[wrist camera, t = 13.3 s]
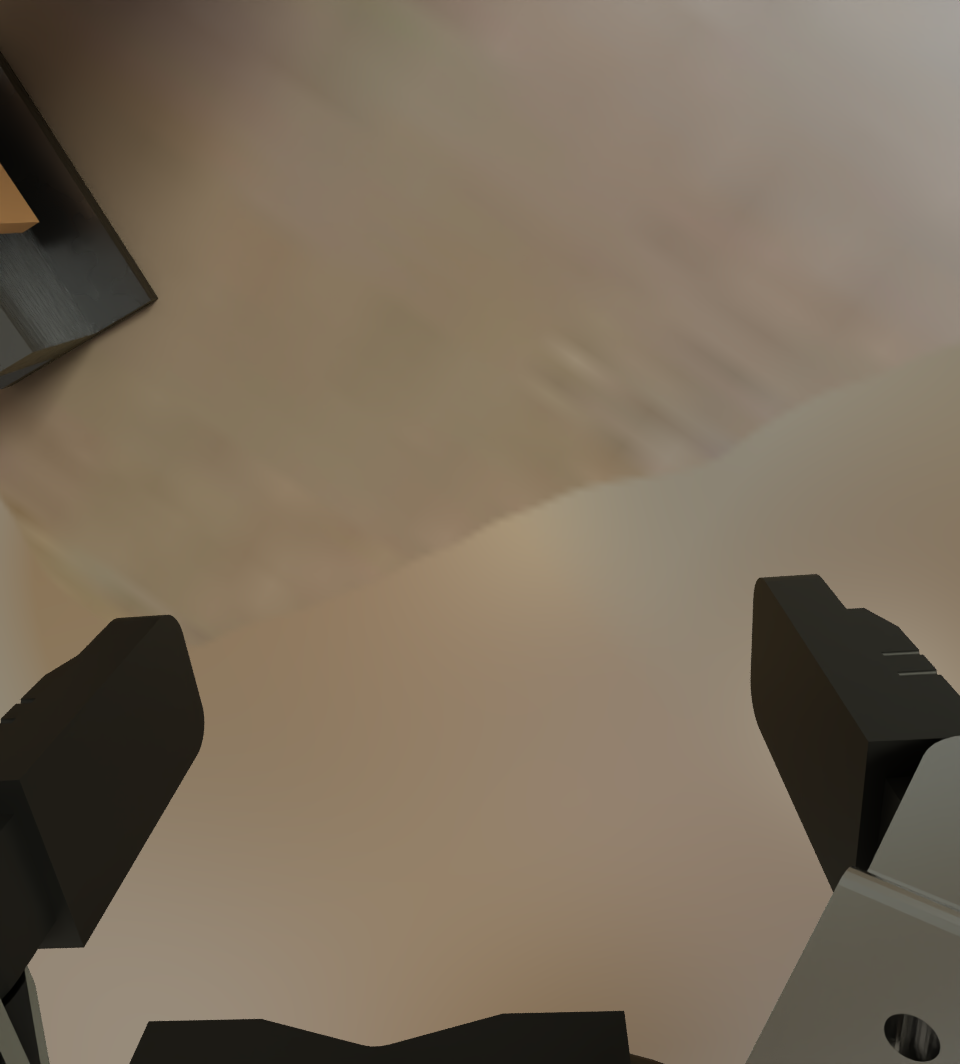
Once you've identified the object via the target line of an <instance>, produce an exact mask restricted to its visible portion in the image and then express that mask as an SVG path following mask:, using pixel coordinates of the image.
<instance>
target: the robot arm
mask: <svg viewBox="0 0 960 1064" xmlns="http://www.w3.org/2000/svg"><path fill="white" fill-rule="evenodd" d="M752 625H753V626H752V653H751V654H752V655H751V696H752V703H753V709H754V714H755V717H756V721H757V724H758V726H759V729H760V731H761V733H762V736H763V738H764V740H765V742H766V744H767V747H768V749H769V751H770V753H771V755H772V757H773V760H774V762H775V764H776V767H777V769H778V771H779V773H780V775H781V778H782V780H783V782H784V784H785V787H786V789H787V791H788V793H789V795H790V798H791V800H792V802H793V804H794V806H795V809H796V811H797V813H798V815H799V818H800V820H801V822H802V824H803V826H804V829H805V831H806V833H807V835H808V837H809V840H810V842H811V844H812V846H813V848H814V850H815V853H816V855H817V857H818V860H819V862H820V864H821V866H822V868H823V871H824V873H825V875H826V877H827V879H828V882H829V884H830V886H831V888H832V890H833V895H832V897H831V898H830V900H829V903H828V905H827V906H826V908H825V910H824V912H823V914H822V916H821V918H820V920H819V922H818V924H817V926H816V928H815V929H814V932H813V933H812V935H811V937H810V939H809V941H808V943H807V945H806V947H805V949H804V951H803V953H802V955H801V957H800V959H799V961H798V963H797V965H796V967H795V968H794V970H793V972H792V974H791V976H790V978H789V980H788V982H787V984H786V986H785V988H784V990H783V992H782V994H781V996H780V997H779V999H778V1001H777V1003H776V1005H775V1007H774V1009H773V1011H772V1013H771V1015H770V1017H769V1019H768V1021H767V1023H766V1025H765V1027H764V1029H763V1030H762V1033H761V1034H760V1036H759V1038H758V1040H757V1042H756V1044H755V1046H754V1048H753V1050H752V1052H751V1054H750V1056H749V1058H748V1060H747V1061H746V1064H960V696H959V695H958V693H957V692H956V691H955V690H954V689H953V688H952V687H951V685H950V684H949V683H948V682H947V681H946V680H945V679H944V678H943V676H941V675H937V672H936V669H935V667H933V665H932V664H931V663H930V662H929V661H928V660H927V658H926V657H925V656H924V655H920V654H919V649H918V648H917V647H916V646H915V645H914V644H913V643H912V642H911V641H910V639H909V638H908V637H907V636H906V635H905V634H904V633H903V632H902V631H901V629H900V628H899V627H898V626H896V625H894V624H892V623H891V622H889V621H887V620H885V619H883V618H881V617H880V616H878V615H876V614H874V613H872V612H870V611H869V610H867V609H865V608H857V609H856V608H855V609H846V608H845V607H844V605H843V604H842V603H841V602H840V600H839V599H838V598H837V597H836V595H835V594H834V593H833V592H832V590H831V589H830V588H829V587H828V585H827V584H826V583H825V582H824V580H823V579H822V578H821V577H820V576H819V575H817V574H811V575H796V576H780V577H765V578H759V579H758V580H757V581H756V584H755V589H754V598H753V624H752ZM203 734H204V713H203V707H202V703H201V699H200V696H199V692H198V688H197V685H196V681H195V677H194V673H193V670H192V666H191V662H190V658H189V655H188V651H187V647H186V643H185V640H184V636H183V632H182V629H181V627H180V625H179V623H178V621H177V620H176V619H175V618H174V617H173V616H171V615H158V616H142V617H127V618H116V619H114V620H113V621H111V622H110V623H109V624H108V625H107V626H106V627H105V628H104V629H103V630H102V631H101V632H100V633H99V634H98V635H97V636H96V638H95V639H94V640H93V641H92V642H91V643H90V644H89V645H88V646H87V647H86V648H85V649H84V650H83V651H82V652H81V653H80V654H79V655H77V656H76V657H74V658H73V659H71V660H69V661H68V662H66V663H64V664H63V665H61V666H60V667H58V668H56V669H55V670H53V671H52V672H50V673H48V674H46V675H45V676H44V677H43V678H42V679H41V680H40V681H39V682H38V683H37V684H36V685H35V686H34V687H32V689H31V690H29V691H28V692H27V694H25V695H24V696H23V698H21V704H15V705H14V706H13V707H12V708H11V709H10V710H9V711H8V712H7V713H6V714H5V715H4V716H3V717H2V718H1V724H0V1064H50V1063H49V1057H48V1052H47V1047H46V1041H45V1036H44V1031H43V1025H42V1019H41V1013H40V1008H39V1002H38V997H37V991H36V986H35V983H34V980H33V978H32V976H31V973H30V971H29V969H28V966H27V965H28V963H29V962H30V960H31V959H32V957H33V956H34V954H35V953H36V951H37V949H45V948H76V947H77V948H79V947H84V946H85V945H86V943H87V941H88V940H89V938H90V936H91V934H92V933H93V931H94V929H95V928H96V926H97V924H98V923H99V921H100V919H101V918H102V916H103V914H104V912H105V910H106V909H107V907H108V905H109V904H110V902H111V901H112V899H113V897H114V895H115V894H116V892H117V890H118V889H119V887H120V885H121V883H122V882H123V880H124V878H125V877H126V875H127V873H128V872H129V870H130V868H131V867H132V865H133V863H134V861H135V860H136V858H137V856H138V855H139V853H140V851H141V850H142V848H143V846H144V844H145V842H146V841H147V839H148V838H149V836H150V834H151V833H152V831H153V829H154V827H155V826H156V824H157V822H158V821H159V819H160V817H161V816H162V814H163V812H164V810H165V809H166V807H167V805H168V804H169V802H170V800H171V798H172V797H173V795H174V793H175V792H176V790H177V788H178V787H179V785H180V783H181V781H182V780H183V778H184V776H185V775H186V773H187V771H188V770H189V768H190V766H191V764H192V763H193V761H194V759H195V758H196V756H197V754H198V752H199V750H200V747H201V744H202V740H203ZM130 1064H663V1063H660V1062H658V1061H655V1060H652V1059H648V1058H644V1057H641V1056H637V1055H633V1054H630V1053H629V1045H628V1037H627V1030H626V1022H625V1014H624V1011H603V1012H557V1013H514V1014H513V1013H511V1014H500V1015H496V1016H493V1017H489V1018H485V1019H482V1020H478V1021H474V1022H471V1023H467V1024H463V1025H460V1026H456V1027H452V1028H448V1029H445V1030H441V1031H438V1032H434V1033H430V1034H426V1035H423V1036H419V1037H416V1038H412V1039H408V1040H404V1041H401V1042H398V1043H393V1044H390V1045H385V1046H376V1047H370V1046H364V1045H360V1044H356V1043H352V1042H348V1041H344V1040H340V1039H336V1038H333V1037H329V1036H325V1035H321V1034H317V1033H313V1032H309V1031H306V1030H302V1029H298V1028H294V1027H290V1026H286V1025H282V1024H279V1023H275V1022H271V1021H267V1020H263V1019H240V1020H198V1021H197V1020H196V1021H195V1020H193V1021H149V1022H148V1024H147V1027H146V1029H145V1031H144V1033H143V1035H142V1037H141V1040H140V1042H139V1044H138V1046H137V1048H136V1051H135V1053H134V1055H133V1057H132V1059H131V1061H130Z"/></svg>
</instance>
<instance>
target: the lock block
mask: <svg viewBox="0 0 960 1064" xmlns="http://www.w3.org/2000/svg"><path fill="white" fill-rule="evenodd" d="M37 223H39V220H38V219H37V217H36V216H35V215H34V213H33V212H32V210H31V209H30V207H29V206H28V204H27V203H26V201H25V200H24V198H23V197H22V195H21V194H20V192H19V191H18V189H17V188H16V186H15V185H14V183H13V182H12V180H11V179H10V177H9V176H8V174H7V173H6V171H5V170H4V168H3V167H2V165H1V164H0V234H7V233H23V232H25V231H26V230H28V229H29V228H31V227H32V226H34V225H35V224H37Z"/></svg>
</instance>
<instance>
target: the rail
mask: <svg viewBox="0 0 960 1064" xmlns="http://www.w3.org/2000/svg"><path fill="white" fill-rule="evenodd" d="M0 164H1V165H2V167H3V168H4V170H5V171H6V173H7V174H8V176H9V177H10V179H11V180H12V182H13V183H14V185H15V186H16V188H17V189H18V191H19V192H20V194H21V195H22V197H23V198H24V200H25V201H26V203H27V204H28V206H29V207H30V209H31V210H32V212H33V213H34V215H35V216H36V217H37V219H38V220H39V223H37V224H35V225H34V226H32V227H31V228H29V229H28V230H26V231H25V232H23V233H7V234H0V388H1V389H3V388H6V387H9V386H11V385H13V384H15V383H16V382H18V381H20V380H21V379H23V378H25V377H27V376H28V375H30V374H32V373H33V372H35V371H37V370H38V369H40V368H42V367H43V366H45V365H47V364H48V363H50V362H52V361H54V360H55V359H57V358H59V357H60V356H62V355H64V354H65V353H67V352H69V351H70V350H72V349H74V348H75V347H77V346H79V345H81V344H82V343H84V342H86V341H87V340H89V339H91V338H92V337H94V336H96V335H97V334H99V333H101V332H102V331H104V330H106V329H108V328H109V327H111V326H113V325H114V324H116V323H118V322H119V321H121V320H123V319H124V318H126V317H128V316H129V315H131V314H133V313H135V312H136V311H138V310H140V309H141V308H143V307H145V306H146V305H148V304H150V303H151V302H153V301H155V300H156V299H158V297H157V296H156V294H155V293H154V291H153V290H152V288H151V286H150V285H149V283H148V282H147V280H146V279H145V277H144V275H143V274H142V272H141V271H140V269H139V268H138V266H137V264H136V263H135V261H134V260H133V258H132V257H131V255H130V254H129V252H128V250H127V249H126V247H125V246H124V244H123V243H122V241H121V239H120V238H119V236H118V235H117V233H116V232H115V230H114V228H113V227H112V225H111V224H110V222H109V221H108V219H107V218H106V216H105V214H104V213H103V211H102V210H101V208H100V207H99V205H98V203H97V202H96V200H95V199H94V197H93V196H92V194H91V192H90V191H89V189H88V188H87V186H86V185H85V183H84V182H83V180H82V178H81V177H80V175H79V174H78V172H77V171H76V169H75V167H74V166H73V164H72V163H71V161H70V160H69V158H68V156H67V155H66V153H65V152H64V150H63V149H62V147H61V146H60V144H59V142H58V141H57V139H56V138H55V136H54V135H53V133H52V131H51V130H50V128H49V127H48V125H47V124H46V122H45V121H44V119H43V117H42V116H41V114H40V113H39V111H38V110H37V108H36V106H35V105H34V103H33V102H32V100H31V99H30V97H29V95H28V94H27V92H26V91H25V89H24V88H23V86H22V85H21V83H20V81H19V80H18V78H17V77H16V75H15V74H14V72H13V70H12V69H11V67H10V66H9V64H8V63H7V61H6V59H5V58H4V56H3V55H2V53H1V52H0Z"/></svg>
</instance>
